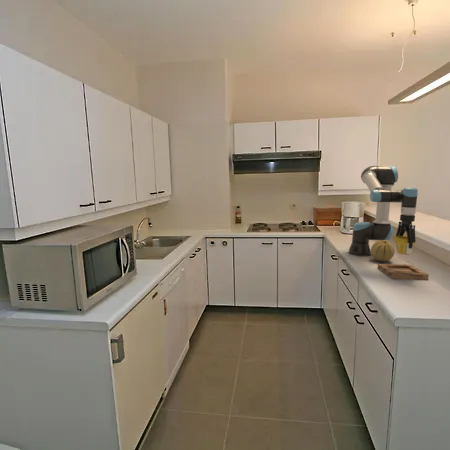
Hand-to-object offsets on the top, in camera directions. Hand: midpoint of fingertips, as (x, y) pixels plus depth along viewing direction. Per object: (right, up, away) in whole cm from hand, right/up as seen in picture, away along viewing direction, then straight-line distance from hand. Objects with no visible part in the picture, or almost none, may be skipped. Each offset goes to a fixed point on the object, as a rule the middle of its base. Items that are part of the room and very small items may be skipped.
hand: (403, 251), depth 191 cm
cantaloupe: (+1, -9, +29) cm, 31 cm away
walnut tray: (0, -14, +2) cm, 14 cm away
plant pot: (0, -1, 0) cm, 1 cm away
